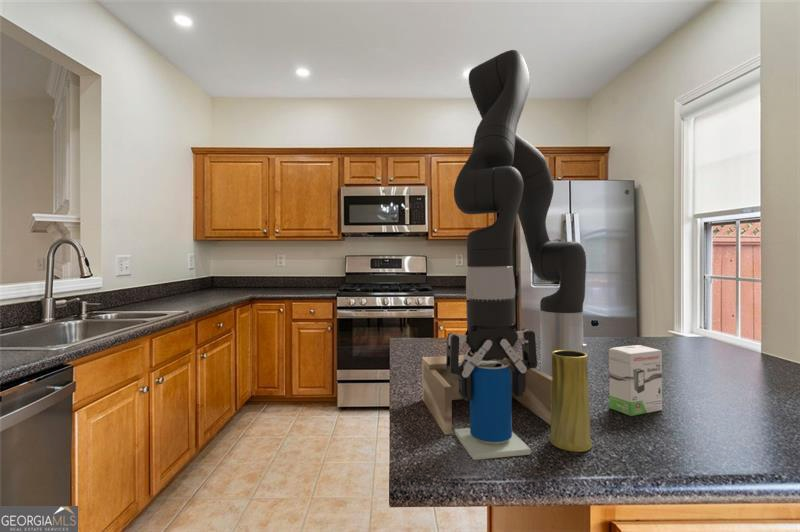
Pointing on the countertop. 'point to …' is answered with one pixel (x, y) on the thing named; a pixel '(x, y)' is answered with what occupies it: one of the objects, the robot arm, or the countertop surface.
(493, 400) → the beverage can
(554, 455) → the countertop surface
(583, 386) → the vase
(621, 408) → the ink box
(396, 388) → the countertop surface
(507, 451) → the tile
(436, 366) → the cubby
